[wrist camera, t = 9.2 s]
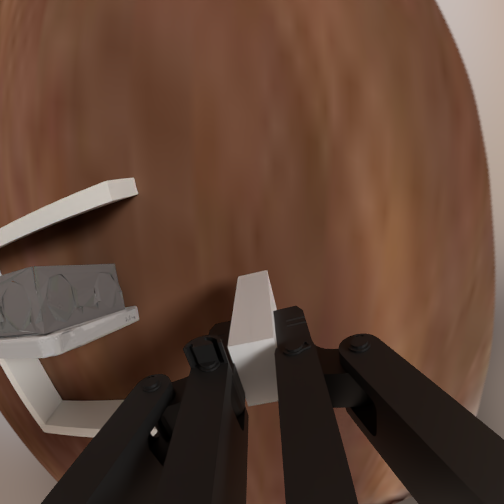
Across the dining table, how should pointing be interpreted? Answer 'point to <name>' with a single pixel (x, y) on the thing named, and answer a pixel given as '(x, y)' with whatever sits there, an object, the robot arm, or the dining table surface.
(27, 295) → the electrical switch
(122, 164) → the dining table surface
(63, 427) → the u-shaped bracket
